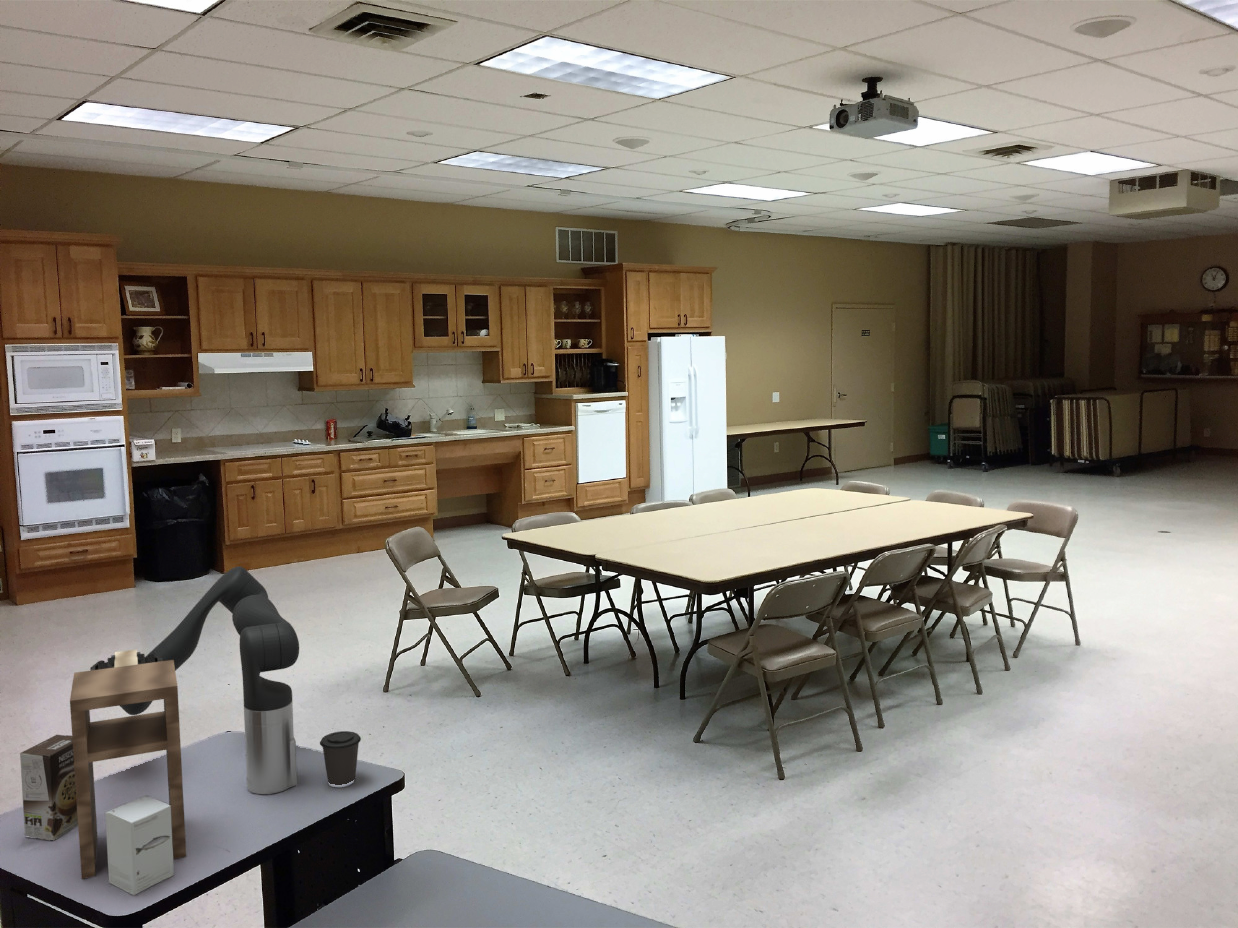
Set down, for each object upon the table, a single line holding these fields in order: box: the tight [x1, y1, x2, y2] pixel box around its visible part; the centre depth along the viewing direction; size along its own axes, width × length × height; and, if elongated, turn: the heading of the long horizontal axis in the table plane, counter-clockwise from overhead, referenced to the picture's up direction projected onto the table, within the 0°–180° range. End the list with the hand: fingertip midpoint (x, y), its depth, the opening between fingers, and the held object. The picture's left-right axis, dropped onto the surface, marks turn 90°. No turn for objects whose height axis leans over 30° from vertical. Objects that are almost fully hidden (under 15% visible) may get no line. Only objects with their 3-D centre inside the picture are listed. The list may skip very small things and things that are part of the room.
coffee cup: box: [319, 730, 362, 785], centre depth 197 cm, size 8×8×10 cm
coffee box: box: [19, 734, 78, 841], centre depth 177 cm, size 9×6×16 cm
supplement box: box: [104, 795, 175, 896], centre depth 160 cm, size 7×7×13 cm
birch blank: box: [114, 649, 138, 667], centre depth 186 cm, size 4×20×3 cm, turn 27°
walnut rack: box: [69, 660, 187, 880], centre depth 169 cm, size 16×15×31 cm
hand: (125, 658), depth 191 cm, fingers closed on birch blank, 4 cm apart
